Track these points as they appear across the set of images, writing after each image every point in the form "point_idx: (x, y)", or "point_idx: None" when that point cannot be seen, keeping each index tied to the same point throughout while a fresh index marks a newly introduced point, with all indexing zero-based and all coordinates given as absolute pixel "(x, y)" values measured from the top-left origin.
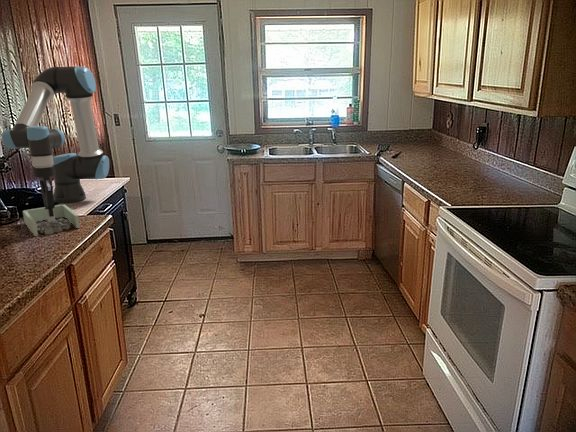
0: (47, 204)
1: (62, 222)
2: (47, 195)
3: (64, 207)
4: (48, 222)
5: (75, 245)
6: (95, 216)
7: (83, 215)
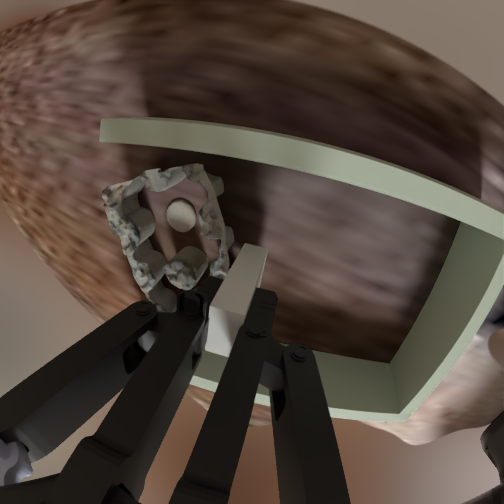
0: (111, 322)
1: None
2: (32, 381)
3: (356, 408)
4: (222, 243)
5: (8, 206)
6: None
7: None
